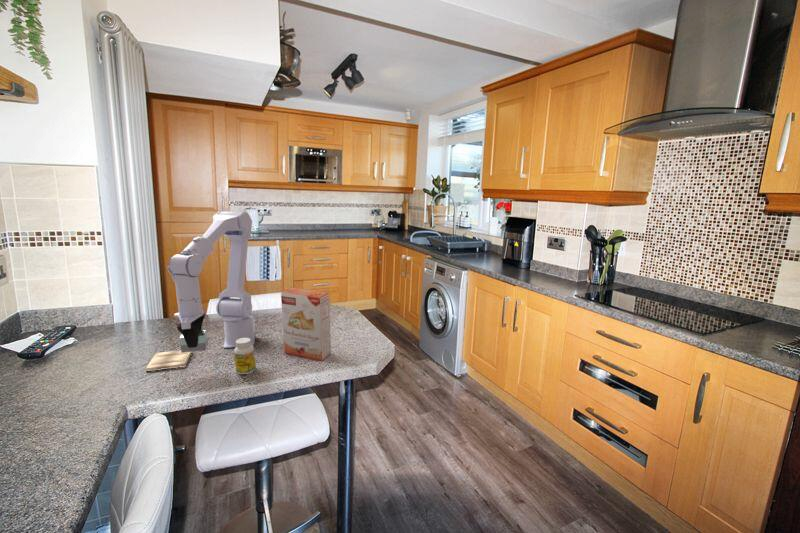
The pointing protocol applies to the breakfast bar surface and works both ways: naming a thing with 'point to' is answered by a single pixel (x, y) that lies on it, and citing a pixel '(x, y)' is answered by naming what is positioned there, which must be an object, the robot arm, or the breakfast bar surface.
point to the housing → (200, 346)
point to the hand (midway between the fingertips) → (194, 343)
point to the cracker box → (306, 323)
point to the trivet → (168, 360)
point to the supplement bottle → (244, 356)
